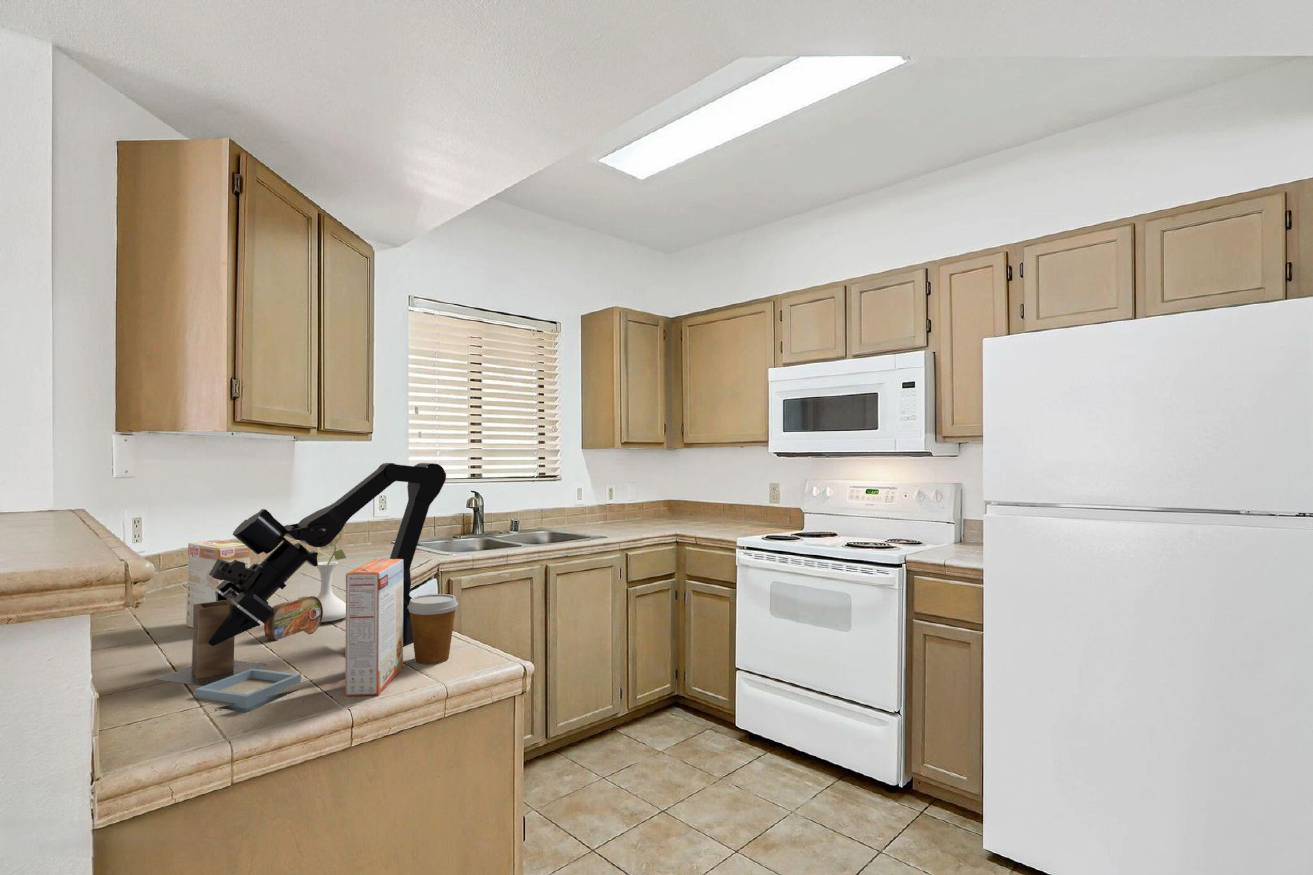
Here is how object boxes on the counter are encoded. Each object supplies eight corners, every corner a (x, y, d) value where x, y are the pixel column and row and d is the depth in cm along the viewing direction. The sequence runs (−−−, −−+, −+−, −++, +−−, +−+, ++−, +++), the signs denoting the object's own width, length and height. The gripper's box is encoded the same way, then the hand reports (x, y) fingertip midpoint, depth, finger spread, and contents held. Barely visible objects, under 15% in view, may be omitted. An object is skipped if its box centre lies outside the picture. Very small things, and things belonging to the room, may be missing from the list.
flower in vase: (289, 621, 157) (291, 517, 157) (335, 611, 166) (337, 514, 167) (317, 630, 149) (320, 520, 150) (364, 619, 158) (366, 517, 159)
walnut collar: (227, 664, 121) (228, 599, 121) (233, 671, 117) (235, 604, 117) (191, 671, 117) (193, 604, 117) (197, 678, 113) (199, 609, 114)
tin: (273, 648, 135) (274, 607, 135) (260, 647, 136) (261, 606, 136) (323, 629, 150) (324, 592, 150) (312, 628, 151) (312, 592, 151)
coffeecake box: (249, 629, 149) (251, 544, 150) (215, 636, 143) (217, 547, 144) (218, 619, 157) (220, 539, 158) (184, 626, 151) (186, 542, 152)
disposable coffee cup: (466, 655, 132) (467, 595, 132) (436, 669, 123) (437, 605, 123) (428, 650, 135) (429, 591, 135) (395, 663, 126) (396, 601, 126)
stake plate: (267, 670, 121) (267, 642, 121) (206, 693, 110) (207, 662, 110) (217, 664, 124) (218, 637, 125) (153, 685, 113) (154, 655, 113)
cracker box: (371, 669, 122) (373, 558, 123) (404, 668, 123) (406, 558, 124) (341, 697, 109) (344, 571, 109) (378, 696, 109) (381, 571, 110)
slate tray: (300, 689, 112) (300, 674, 112) (246, 712, 102) (246, 696, 102) (252, 682, 115) (252, 668, 115) (194, 704, 105) (195, 689, 105)
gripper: (230, 537, 127) (158, 602, 119) (254, 548, 114) (175, 622, 106) (275, 573, 132) (208, 637, 124) (302, 587, 119) (230, 660, 111)
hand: (204, 638), depth 116 cm, fingers open, 9 cm apart
